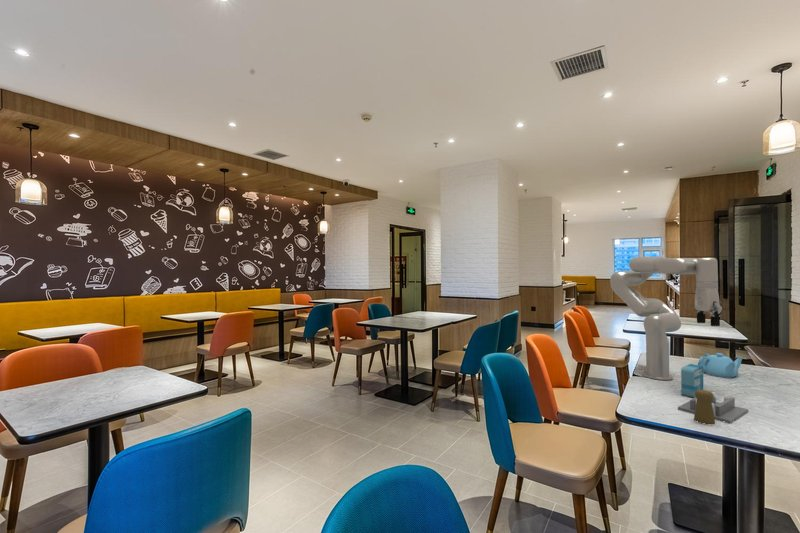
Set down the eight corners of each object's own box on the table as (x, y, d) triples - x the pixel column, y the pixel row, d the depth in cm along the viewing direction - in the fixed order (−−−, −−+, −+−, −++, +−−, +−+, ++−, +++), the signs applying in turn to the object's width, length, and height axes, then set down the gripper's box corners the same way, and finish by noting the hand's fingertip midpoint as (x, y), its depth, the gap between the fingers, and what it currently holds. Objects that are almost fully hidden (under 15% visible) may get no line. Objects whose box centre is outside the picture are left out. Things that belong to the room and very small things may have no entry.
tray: (677, 409, 146) (677, 396, 146) (697, 399, 157) (697, 387, 157) (730, 423, 133) (730, 409, 133) (748, 411, 143) (748, 398, 143)
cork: (689, 418, 138) (689, 388, 138) (704, 417, 138) (704, 387, 138) (703, 425, 132) (703, 393, 132) (719, 424, 132) (719, 393, 132)
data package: (693, 398, 159) (693, 369, 159) (681, 395, 162) (680, 367, 162) (703, 392, 166) (703, 365, 166) (691, 389, 169) (691, 363, 169)
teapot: (705, 368, 204) (705, 348, 204) (742, 374, 192) (742, 353, 192) (696, 373, 195) (696, 352, 195) (735, 380, 183) (734, 358, 183)
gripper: (686, 285, 176) (687, 321, 176) (709, 286, 159) (711, 327, 159) (704, 285, 175) (705, 322, 174) (730, 286, 158) (731, 327, 157)
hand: (708, 324), depth 167 cm, fingers open, 9 cm apart
